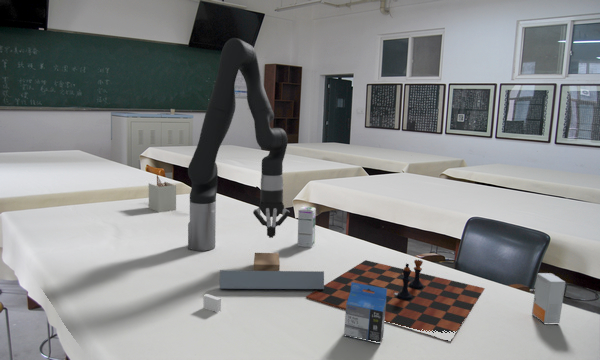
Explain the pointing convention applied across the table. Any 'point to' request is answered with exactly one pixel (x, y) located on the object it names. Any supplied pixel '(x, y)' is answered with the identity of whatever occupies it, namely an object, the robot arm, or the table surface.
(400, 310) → the chessboard
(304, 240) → the syrup box
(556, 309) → the skincare box
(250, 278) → the board
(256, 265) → the block
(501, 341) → the table surface
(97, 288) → the table surface
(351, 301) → the label tape cartridge
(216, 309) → the eraser
